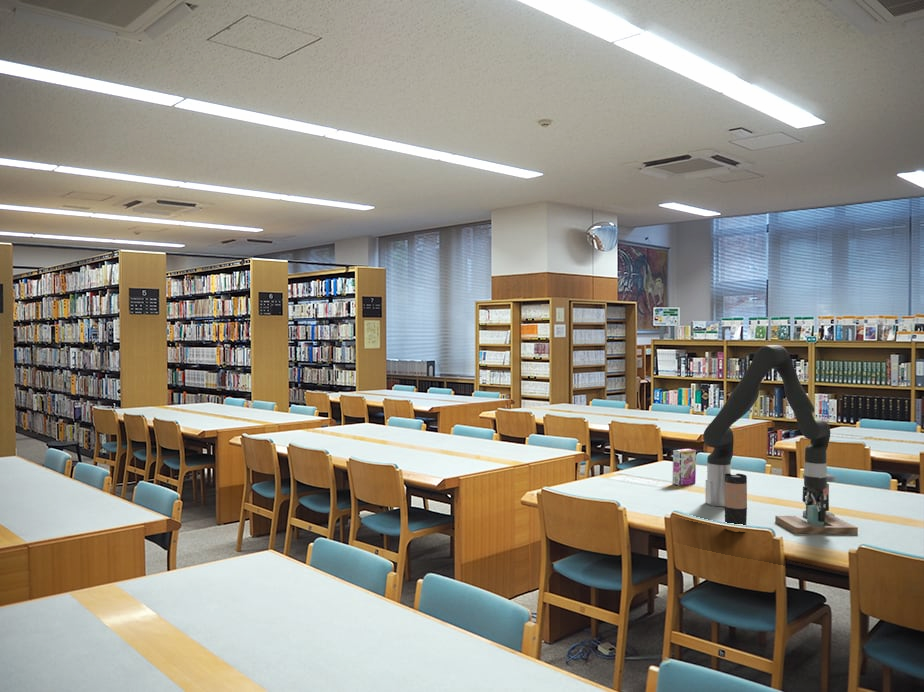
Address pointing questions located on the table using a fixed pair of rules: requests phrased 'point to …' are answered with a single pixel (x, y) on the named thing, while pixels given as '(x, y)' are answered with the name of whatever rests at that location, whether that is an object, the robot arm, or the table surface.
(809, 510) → the teal peg
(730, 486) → the travel mug
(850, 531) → the notched board
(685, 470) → the candy bar box
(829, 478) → the bobbin
